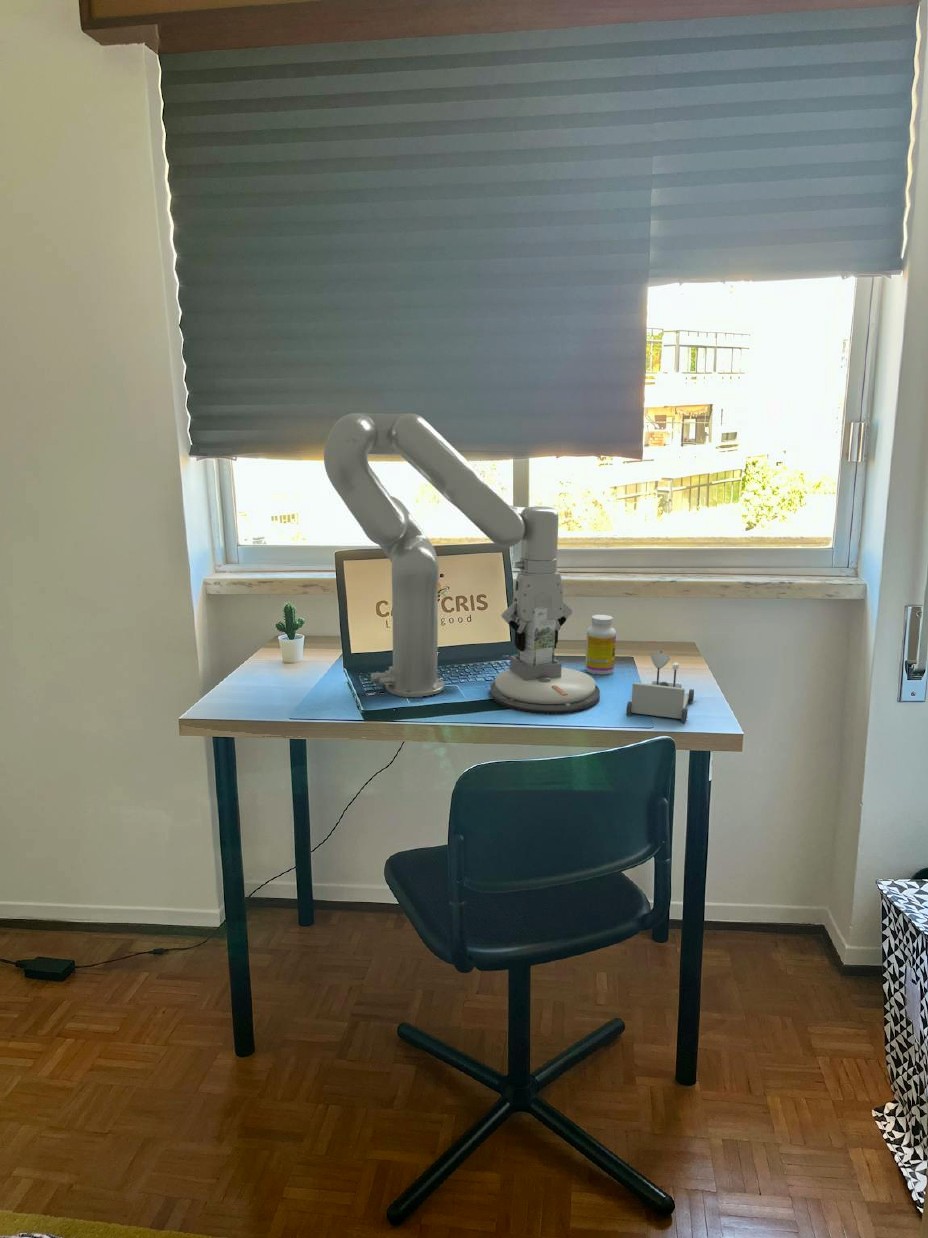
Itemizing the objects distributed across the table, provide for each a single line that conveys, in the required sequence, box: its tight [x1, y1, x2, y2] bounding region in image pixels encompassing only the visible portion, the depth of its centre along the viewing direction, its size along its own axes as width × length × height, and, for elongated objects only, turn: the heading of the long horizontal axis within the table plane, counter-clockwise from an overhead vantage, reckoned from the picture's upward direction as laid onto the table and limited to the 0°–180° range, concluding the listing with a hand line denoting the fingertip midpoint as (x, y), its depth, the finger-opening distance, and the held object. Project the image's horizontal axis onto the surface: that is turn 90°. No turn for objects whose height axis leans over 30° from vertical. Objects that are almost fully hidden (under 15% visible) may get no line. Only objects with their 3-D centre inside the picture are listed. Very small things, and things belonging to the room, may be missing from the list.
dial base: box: [489, 680, 601, 715], centre depth 191 cm, size 23×23×2 cm
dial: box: [494, 654, 596, 704], centre depth 190 cm, size 21×21×4 cm
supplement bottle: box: [584, 614, 617, 676], centre depth 207 cm, size 7×7×13 cm
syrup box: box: [517, 607, 556, 666], centre depth 193 cm, size 6×6×14 cm
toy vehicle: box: [625, 650, 695, 723], centre depth 185 cm, size 18×10×12 cm
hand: (536, 647), depth 194 cm, fingers closed on syrup box, 6 cm apart
